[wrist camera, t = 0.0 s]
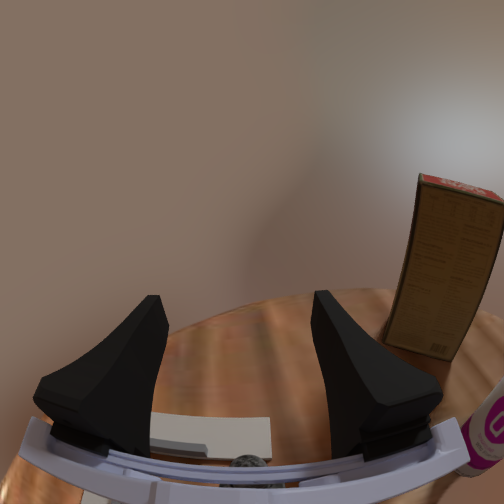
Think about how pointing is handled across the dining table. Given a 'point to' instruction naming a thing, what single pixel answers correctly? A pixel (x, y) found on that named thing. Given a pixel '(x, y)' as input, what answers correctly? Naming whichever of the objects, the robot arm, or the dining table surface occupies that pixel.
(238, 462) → the black chess piece
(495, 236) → the food packaging
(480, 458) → the supplement can
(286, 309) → the dining table surface
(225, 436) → the board
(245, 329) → the dining table surface
